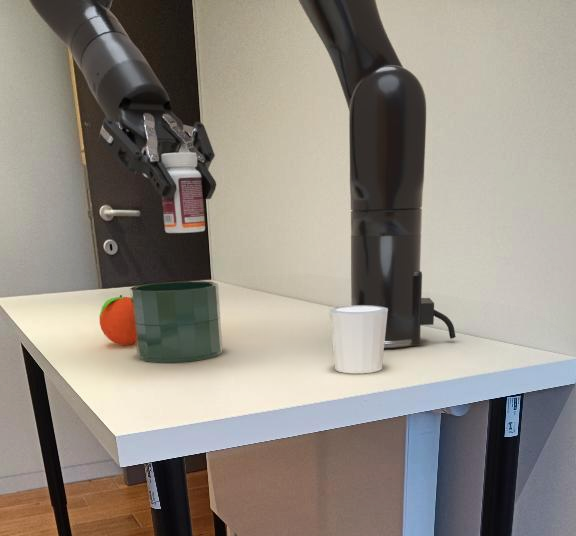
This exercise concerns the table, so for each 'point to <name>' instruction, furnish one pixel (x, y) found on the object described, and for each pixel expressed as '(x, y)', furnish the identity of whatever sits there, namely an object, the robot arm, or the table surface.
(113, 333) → the clementine
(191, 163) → the pill bottle
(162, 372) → the table surface
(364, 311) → the shot glass
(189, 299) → the pot
